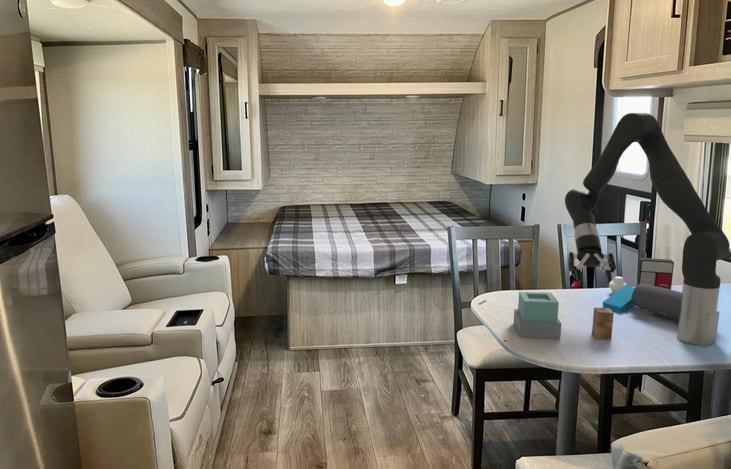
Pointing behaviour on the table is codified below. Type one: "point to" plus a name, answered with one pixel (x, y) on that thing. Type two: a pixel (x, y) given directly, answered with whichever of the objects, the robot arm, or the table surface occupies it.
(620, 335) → the table surface
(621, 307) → the blue rectangular block
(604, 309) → the walnut brick
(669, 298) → the bluetooth speaker
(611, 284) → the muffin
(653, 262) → the color panel box
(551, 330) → the tower base
